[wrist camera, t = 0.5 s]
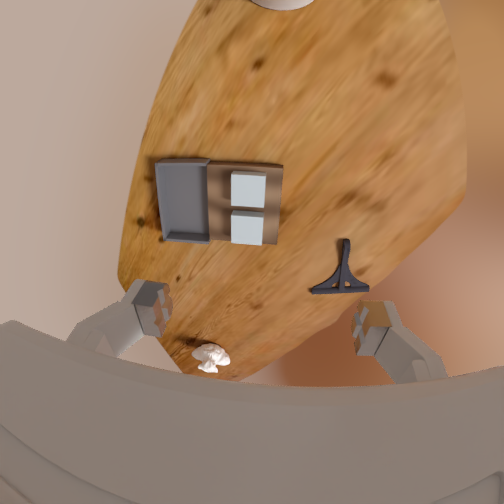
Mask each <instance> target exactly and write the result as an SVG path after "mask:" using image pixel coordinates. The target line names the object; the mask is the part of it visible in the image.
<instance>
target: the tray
mask: <svg viewBox="0 0 504 504" xmlns="http://www.w3.org/2000/svg"><path fill="white" fill-rule="evenodd" d="M209 162H210V159H200V158H182V159H161V160H159V161H158V162H156V163H155V173H156V184H157V193H158V202H159V211H160V218H161V226H162V233H163V240H164V241H174V242H187V243H199V244H209V242H210V240H211V239H210V236H209V215H208V188H207V164H208V163H209Z"/></svg>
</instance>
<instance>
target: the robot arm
mask: <svg viewBox="0 0 504 504" xmlns="http://www.w3.org/2000/svg"><path fill="white" fill-rule="evenodd" d="M251 1H253V2H254V3H256V4H258V5H260V6H262V7H265V8H269V9H274V10H293V9H298V8H301V7H303V6H306V5H308V4H309V3H311V2H312V1H313V0H251ZM169 292H170V288H169V285H168V284H167V283H161V282H155V281H148V280H141V279H136V280H135V281H134V282H133V284H132V285H131V286H130V288H129V289H128V291H127V292H126V294H125V296H124V297H123V299H122V300H121V302H118V301H117V302H116V303H114V304H112V305H110V306H108V307H107V308H105V309H103V310H101V311H99V312H97V313H95V314H94V315H92V316H90V317H88V318H86V319H85V320H83V321H81V322H79V323H77V325H76V326H75V328H74V329H73V331H72V332H71V334H70V335H69V337H68V339H67V340H66V341H63V340H60V339H58V338H55V337H52V336H50V335H47V334H45V333H42V332H40V331H38V330H35V329H33V328H31V327H28V326H26V325H24V324H22V323H20V322H17V321H14V320H11V321H8V322H6V323H3V324H1V325H0V504H504V366H497V367H493V368H489V369H486V370H481V371H477V372H473V373H468V374H463V375H458V376H453V377H448V375H447V373H446V370H445V367H444V364H443V361H442V359H441V357H440V356H439V355H438V354H437V353H436V352H435V351H433V350H432V349H431V348H430V347H429V346H428V345H427V344H425V343H424V342H423V341H422V340H421V339H420V338H418V337H417V336H416V335H415V334H414V333H412V332H411V331H410V330H409V329H408V328H407V327H403V325H402V323H401V320H400V317H399V315H398V312H397V310H396V308H395V305H394V303H393V302H392V301H367V300H360V302H359V303H358V306H357V309H358V312H357V313H356V314H354V316H353V320H352V326H351V330H352V336H353V337H355V339H356V340H355V342H354V346H355V351H356V355H366V356H367V355H368V356H369V355H370V356H371V355H372V356H374V357H375V358H376V360H377V361H378V362H379V363H380V365H381V366H382V367H383V368H384V369H385V371H386V372H387V373H388V374H389V376H390V377H391V378H392V379H393V381H394V382H395V383H396V384H392V385H380V386H362V387H361V386H360V387H298V386H279V385H266V384H254V383H245V382H236V381H228V380H220V379H213V378H207V377H201V376H195V375H189V374H184V373H178V372H173V371H168V370H164V369H159V368H154V367H150V366H146V365H142V364H137V363H133V362H129V361H126V360H122V359H119V358H117V357H118V356H119V355H120V354H122V353H123V352H124V351H125V350H127V349H128V348H129V347H130V346H131V345H133V344H134V343H135V342H136V341H138V340H139V339H140V338H141V337H143V336H144V335H149V336H155V337H162V335H163V333H164V330H165V328H166V323H165V322H166V321H167V320H169V319H170V317H171V314H172V309H173V303H172V298H171V297H170V296H169V295H168V294H169Z"/></svg>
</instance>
